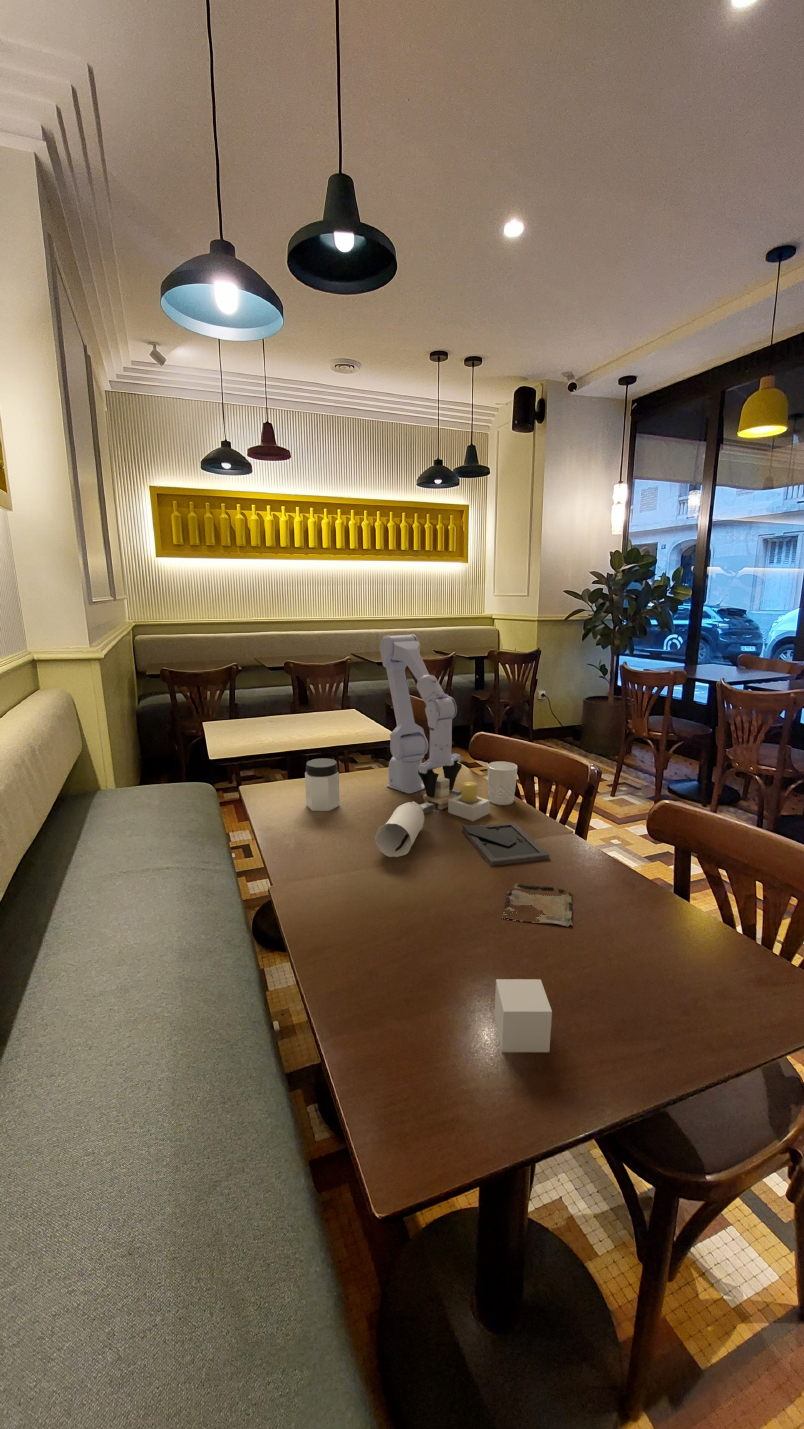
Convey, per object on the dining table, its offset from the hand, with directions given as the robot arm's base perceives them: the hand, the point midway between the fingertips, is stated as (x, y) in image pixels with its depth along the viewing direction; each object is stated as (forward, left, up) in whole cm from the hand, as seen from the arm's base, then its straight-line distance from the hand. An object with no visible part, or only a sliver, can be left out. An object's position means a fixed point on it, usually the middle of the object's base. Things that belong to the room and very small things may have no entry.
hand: (439, 792), depth 153 cm
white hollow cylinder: (+8, -23, -4) cm, 25 cm away
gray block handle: (0, -3, -3) cm, 5 cm away
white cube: (+60, -54, -4) cm, 81 cm away
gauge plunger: (+9, +1, 0) cm, 9 cm away
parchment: (+45, -25, -4) cm, 52 cm away
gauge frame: (+9, +1, -3) cm, 10 cm away
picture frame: (+26, -8, -4) cm, 28 cm away
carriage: (0, 0, -3) cm, 3 cm away
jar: (-22, -22, -4) cm, 31 cm away
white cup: (+10, +14, -4) cm, 18 cm away
